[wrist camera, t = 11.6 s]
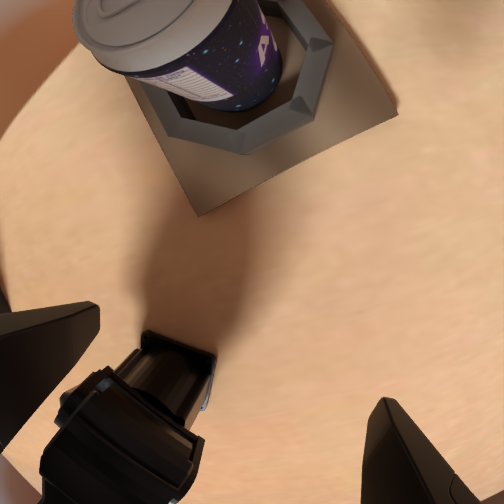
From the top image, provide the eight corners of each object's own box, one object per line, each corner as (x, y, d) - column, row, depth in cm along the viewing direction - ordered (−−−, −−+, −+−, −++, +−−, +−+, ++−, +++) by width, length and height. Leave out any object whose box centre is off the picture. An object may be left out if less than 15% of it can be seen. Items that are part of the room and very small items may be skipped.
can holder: (282, -42, 15) (275, -69, 12) (395, 116, 17) (409, 108, 14) (120, 56, 20) (93, 45, 16) (203, 214, 22) (182, 224, 18)
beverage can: (296, 98, 17) (254, 12, 6) (207, 126, 19) (73, 100, 8) (268, 20, 16) (203, -103, 5) (185, 50, 18) (60, -24, 6)
